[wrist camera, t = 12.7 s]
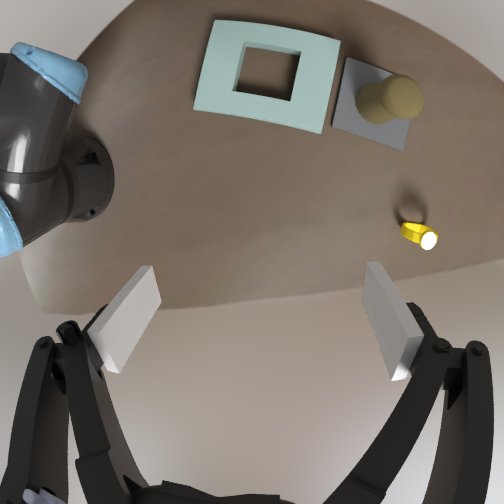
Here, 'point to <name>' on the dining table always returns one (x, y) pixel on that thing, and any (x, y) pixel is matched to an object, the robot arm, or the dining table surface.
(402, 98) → the cork
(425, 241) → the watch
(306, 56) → the socket board
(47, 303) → the dining table surface
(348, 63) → the rubber mat
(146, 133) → the dining table surface
